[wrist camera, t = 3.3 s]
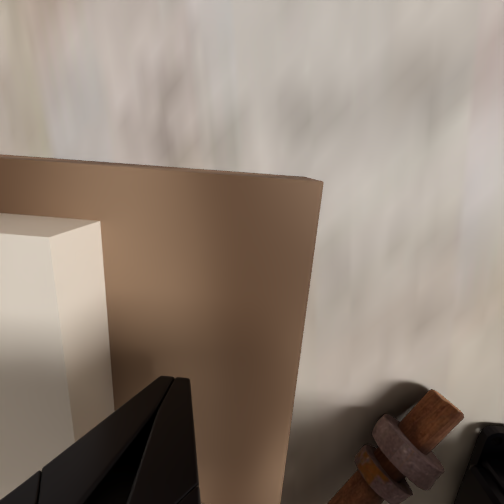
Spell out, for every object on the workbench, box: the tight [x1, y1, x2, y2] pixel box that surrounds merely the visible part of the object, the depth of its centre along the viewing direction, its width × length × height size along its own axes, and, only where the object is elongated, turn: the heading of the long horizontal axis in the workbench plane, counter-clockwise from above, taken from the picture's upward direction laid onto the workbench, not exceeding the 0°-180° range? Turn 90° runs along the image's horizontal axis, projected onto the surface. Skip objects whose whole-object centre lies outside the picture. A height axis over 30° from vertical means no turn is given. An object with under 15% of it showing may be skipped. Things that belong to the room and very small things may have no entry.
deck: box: [0, 155, 323, 504], centre depth 11 cm, size 16×12×4 cm
